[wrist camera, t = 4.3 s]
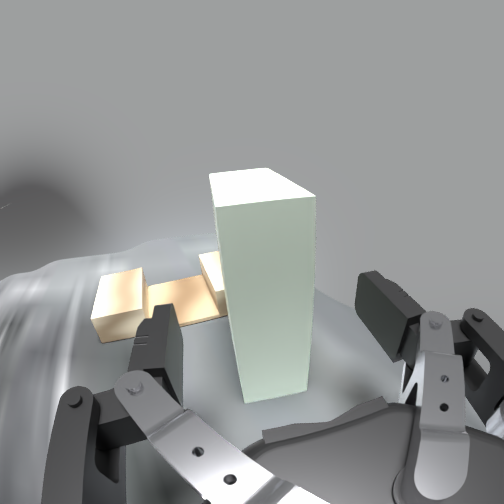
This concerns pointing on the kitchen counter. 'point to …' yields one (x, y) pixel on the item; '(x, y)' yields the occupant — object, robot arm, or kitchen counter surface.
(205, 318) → the slot board
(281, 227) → the tall mint green pillar
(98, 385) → the kitchen counter surface
